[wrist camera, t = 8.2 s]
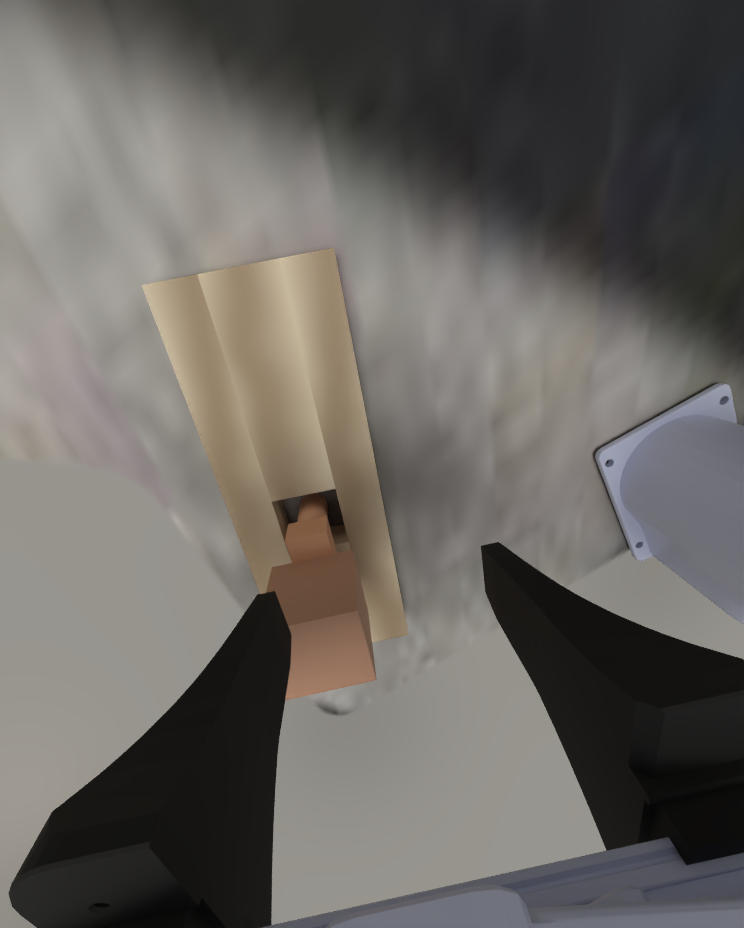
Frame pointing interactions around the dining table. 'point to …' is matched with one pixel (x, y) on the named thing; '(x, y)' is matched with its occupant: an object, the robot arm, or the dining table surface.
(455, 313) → the dining table surface
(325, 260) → the rail
